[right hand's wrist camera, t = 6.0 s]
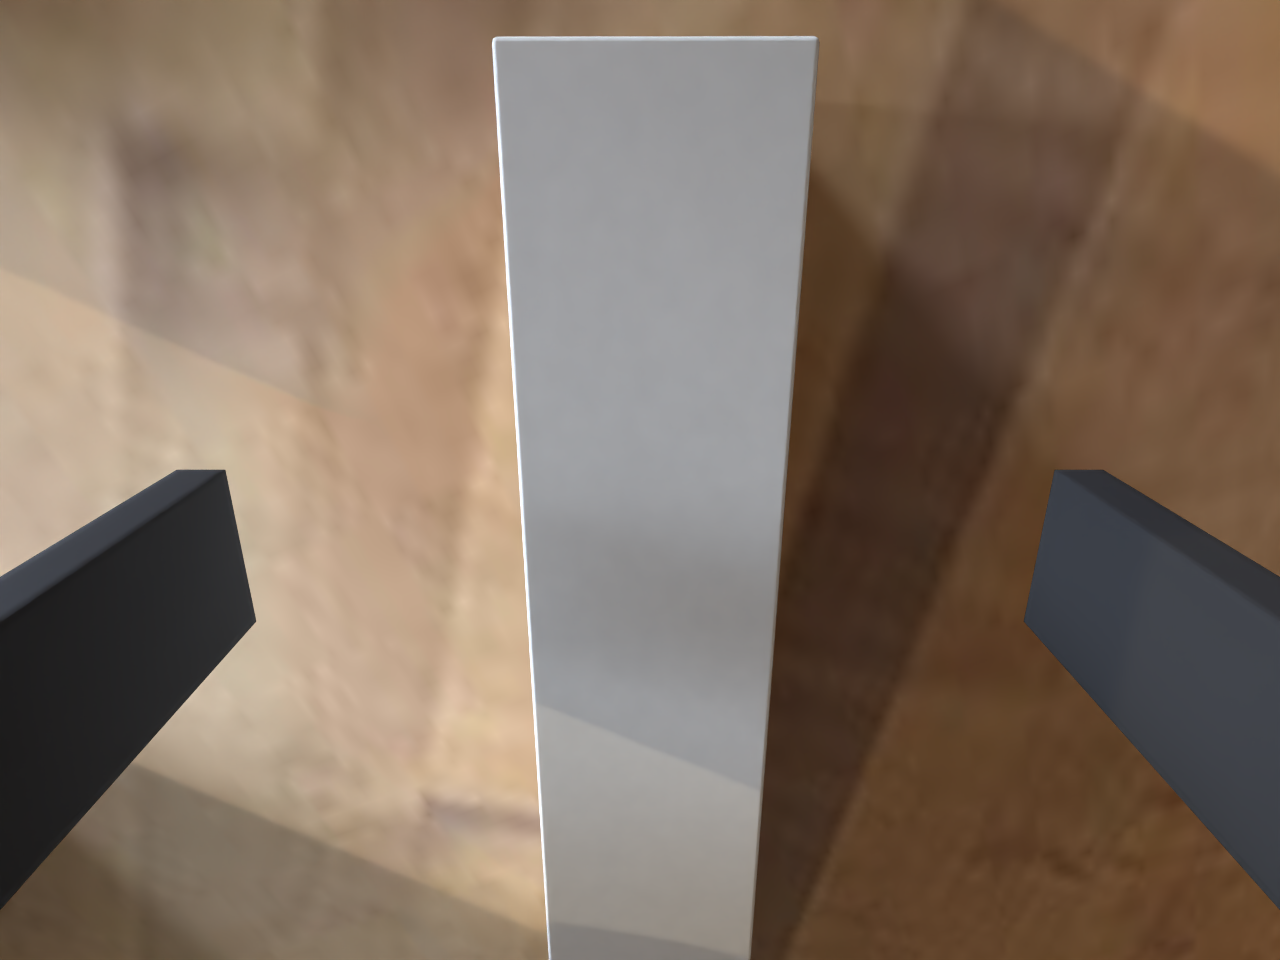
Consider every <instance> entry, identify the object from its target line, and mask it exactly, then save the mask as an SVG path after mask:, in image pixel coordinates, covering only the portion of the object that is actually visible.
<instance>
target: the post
mask: <svg viewBox="0 0 1280 960" xmlns="http://www.w3.org/2000/svg"><path fill="white" fill-rule="evenodd" d="M819 43H820V42H819V39H818V38H817V37H815V36H580V37H495V38H493V41H492V51H493V67H494V83H495V99H496V115H497V131H498V148H499V164H500V180H501V196H502V212H503V228H504V244H505V260H506V276H507V292H508V308H509V324H510V340H511V356H512V373H513V389H514V405H515V421H516V437H517V453H518V469H519V485H520V501H521V517H522V533H523V549H524V565H525V581H526V597H527V614H528V630H529V646H530V662H531V678H532V694H533V710H534V726H535V742H536V758H537V774H538V790H539V806H540V822H541V839H542V855H543V871H544V887H545V903H546V919H547V935H548V951H549V960H750V958H751V945H752V932H753V918H754V905H755V892H756V879H757V865H758V852H759V839H760V826H761V812H762V799H763V786H764V772H765V759H766V746H767V733H768V719H769V706H770V693H771V680H772V666H773V653H774V640H775V627H776V613H777V600H778V587H779V573H780V560H781V547H782V534H783V520H784V507H785V494H786V481H787V467H788V454H789V441H790V428H791V414H792V401H793V388H794V374H795V361H796V348H797V335H798V321H799V308H800V295H801V282H802V268H803V255H804V242H805V229H806V215H807V202H808V189H809V175H810V162H811V149H812V136H813V122H814V109H815V96H816V83H817V69H818V56H819Z"/></svg>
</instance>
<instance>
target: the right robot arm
mask: <svg viewBox="0 0 1280 960" xmlns="http://www.w3.org/2000/svg"><path fill="white" fill-rule="evenodd" d="M255 622H256V618H255V613H254V608H253V603H252V598H251V593H250V589H249V584H248V579H247V574H246V569H245V564H244V559H243V554H242V549H241V544H240V540H239V535H238V530H237V525H236V520H235V515H234V510H233V505H232V500H231V496H230V491H229V486H228V481H227V476H226V471H225V470H176V471H174V472H172V473H171V474H169V475H168V476H166V477H164V478H163V479H161V480H159V481H158V482H156V483H154V484H153V485H151V486H149V487H148V488H146V489H144V490H143V491H141V492H140V493H138V494H136V495H135V496H133V497H131V498H130V499H128V500H126V501H125V502H123V503H121V504H120V505H118V506H116V507H115V508H113V509H111V510H110V511H108V512H107V513H105V514H103V515H102V516H100V517H98V518H97V519H95V520H93V521H92V522H90V523H88V524H87V525H85V526H83V527H82V528H80V529H79V530H77V531H75V532H74V533H72V534H70V535H69V536H67V537H65V538H64V539H62V540H60V541H59V542H57V543H55V544H54V545H52V546H50V547H49V548H47V549H46V550H44V551H42V552H41V553H39V554H37V555H36V556H34V557H32V558H31V559H29V560H27V561H26V562H24V563H22V564H21V565H19V566H18V567H16V568H14V569H13V570H11V571H9V572H8V573H6V574H4V575H3V576H1V577H0V909H1V908H2V907H3V906H4V905H5V904H6V903H7V902H8V900H9V899H10V898H11V897H12V896H13V895H14V894H15V893H16V891H17V890H18V889H19V888H20V887H21V886H22V885H23V884H24V882H25V881H26V880H27V879H28V878H29V877H30V876H31V875H32V873H33V872H34V871H35V870H36V869H37V868H38V867H39V866H40V864H41V863H42V862H43V861H44V860H45V859H46V858H47V857H48V855H49V854H50V853H51V852H52V851H53V850H54V849H55V847H56V846H57V845H58V844H59V843H60V842H61V841H62V840H63V838H64V837H65V836H66V835H67V834H68V833H69V832H70V831H71V829H72V828H73V827H74V826H75V825H76V824H77V823H78V822H79V820H80V819H81V818H82V817H83V816H84V815H85V814H86V813H87V811H88V810H89V809H90V808H91V807H92V806H93V805H94V804H95V802H96V801H97V800H98V799H99V798H100V797H101V796H102V795H103V793H104V792H105V791H106V790H107V789H108V788H109V787H110V786H111V784H112V783H113V782H114V781H115V780H116V779H117V778H118V777H119V775H120V774H121V773H122V772H123V771H124V770H125V769H126V767H127V766H128V765H129V764H130V763H131V762H132V761H133V760H134V758H135V757H136V756H137V755H138V754H139V753H140V752H141V751H142V749H143V748H144V747H145V746H146V745H147V744H148V743H149V742H150V740H151V739H152V738H153V737H154V736H155V735H156V734H157V733H158V731H159V730H160V729H161V728H162V727H163V726H164V725H165V724H166V722H167V721H168V720H169V719H170V718H171V717H172V716H173V715H174V713H175V712H176V711H177V710H178V709H179V708H180V707H181V706H182V704H183V703H184V702H185V701H186V700H187V699H188V698H189V697H190V695H191V694H192V693H193V692H194V691H195V690H196V689H197V687H198V686H199V685H200V684H201V683H202V682H203V681H204V680H205V678H206V677H207V676H208V675H209V674H210V673H211V672H212V671H213V669H214V668H215V667H216V666H217V665H218V664H219V663H220V662H221V660H222V659H223V658H224V657H225V656H226V655H227V654H228V653H229V651H230V650H231V649H232V648H233V647H234V646H235V645H236V644H237V642H238V641H239V640H240V639H241V638H242V637H243V636H244V635H245V633H246V632H247V631H248V630H249V629H250V628H251V627H252V626H253V624H254V623H255ZM1024 622H1025V623H1026V624H1027V626H1028V627H1029V628H1030V629H1031V630H1032V631H1033V632H1034V633H1035V635H1036V636H1037V637H1038V638H1039V639H1040V640H1041V641H1042V642H1043V644H1044V645H1045V646H1046V647H1047V648H1048V649H1049V650H1050V651H1051V653H1052V654H1053V655H1054V656H1055V657H1056V658H1057V659H1058V660H1059V662H1060V663H1061V664H1062V665H1063V666H1064V667H1065V668H1066V669H1067V671H1068V672H1069V673H1070V674H1071V675H1072V676H1073V677H1074V678H1075V680H1076V681H1077V682H1078V683H1079V684H1080V685H1081V686H1082V688H1083V689H1084V690H1085V691H1086V692H1087V693H1088V694H1089V695H1090V697H1091V698H1092V699H1093V700H1094V701H1095V702H1096V703H1097V704H1098V706H1099V707H1100V708H1101V709H1102V710H1103V711H1104V712H1105V713H1106V715H1107V716H1108V717H1109V718H1110V719H1111V720H1112V721H1113V722H1114V724H1115V725H1116V726H1117V727H1118V728H1119V729H1120V730H1121V731H1122V733H1123V734H1124V735H1125V736H1126V737H1127V738H1128V739H1129V740H1130V742H1131V743H1132V744H1133V745H1134V746H1135V747H1136V748H1137V749H1138V751H1139V752H1140V753H1141V754H1142V755H1143V756H1144V757H1145V758H1146V760H1147V761H1148V762H1149V763H1150V764H1151V765H1152V766H1153V767H1154V769H1155V770H1156V771H1157V772H1158V773H1159V774H1160V775H1161V777H1162V778H1163V779H1164V780H1165V781H1166V782H1167V783H1168V784H1169V786H1170V787H1171V788H1172V789H1173V790H1174V791H1175V792H1176V793H1177V795H1178V796H1179V797H1180V798H1181V799H1182V800H1183V801H1184V802H1185V804H1186V805H1187V806H1188V807H1189V808H1190V809H1191V810H1192V811H1193V813H1194V814H1195V815H1196V816H1197V817H1198V818H1199V819H1200V820H1201V822H1202V823H1203V824H1204V825H1205V826H1206V827H1207V828H1208V829H1209V831H1210V832H1211V833H1212V834H1213V835H1214V836H1215V837H1216V838H1217V840H1218V841H1219V842H1220V843H1221V844H1222V845H1223V846H1224V847H1225V849H1226V850H1227V851H1228V852H1229V853H1230V854H1231V855H1232V857H1233V858H1234V859H1235V860H1236V861H1237V862H1238V863H1239V864H1240V866H1241V867H1242V868H1243V869H1244V870H1245V871H1246V872H1247V873H1248V875H1249V876H1250V877H1251V878H1252V879H1253V880H1254V881H1255V882H1256V884H1257V885H1258V886H1259V887H1260V888H1261V889H1262V890H1263V891H1264V893H1265V894H1266V895H1267V896H1268V897H1269V898H1270V899H1271V900H1272V902H1273V903H1274V904H1275V905H1276V906H1277V907H1278V908H1279V909H1280V577H1279V576H1277V575H1276V574H1274V573H1272V572H1271V571H1269V570H1267V569H1266V568H1264V567H1262V566H1261V565H1259V564H1258V563H1256V562H1254V561H1253V560H1251V559H1249V558H1248V557H1246V556H1244V555H1243V554H1241V553H1239V552H1238V551H1236V550H1234V549H1233V548H1231V547H1230V546H1228V545H1226V544H1225V543H1223V542H1221V541H1220V540H1218V539H1216V538H1215V537H1213V536H1211V535H1210V534H1208V533H1206V532H1205V531H1203V530H1201V529H1200V528H1198V527H1197V526H1195V525H1193V524H1192V523H1190V522H1188V521H1187V520H1185V519H1183V518H1182V517H1180V516H1178V515H1177V514H1175V513H1173V512H1172V511H1170V510H1169V509H1167V508H1165V507H1164V506H1162V505H1160V504H1159V503H1157V502H1155V501H1154V500H1152V499H1150V498H1149V497H1147V496H1145V495H1144V494H1142V493H1140V492H1139V491H1137V490H1136V489H1134V488H1132V487H1131V486H1129V485H1127V484H1126V483H1124V482H1122V481H1121V480H1119V479H1117V478H1116V477H1114V476H1112V475H1111V474H1109V473H1108V472H1106V471H1104V470H1055V471H1054V476H1053V481H1052V486H1051V491H1050V496H1049V500H1048V505H1047V510H1046V515H1045V520H1044V525H1043V530H1042V535H1041V540H1040V544H1039V549H1038V554H1037V559H1036V564H1035V569H1034V574H1033V579H1032V584H1031V589H1030V593H1029V598H1028V603H1027V608H1026V613H1025V618H1024Z"/></svg>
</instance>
